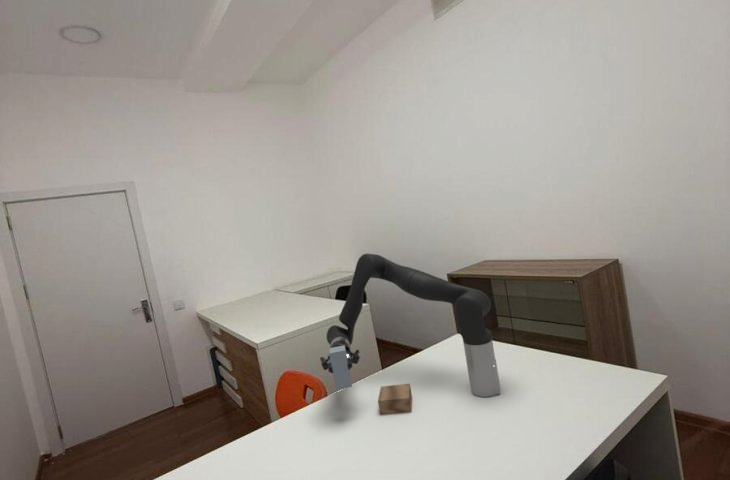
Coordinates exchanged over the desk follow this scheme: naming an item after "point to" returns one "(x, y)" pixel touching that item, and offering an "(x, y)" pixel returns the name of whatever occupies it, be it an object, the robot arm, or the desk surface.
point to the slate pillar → (340, 367)
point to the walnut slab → (395, 399)
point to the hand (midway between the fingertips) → (340, 368)
